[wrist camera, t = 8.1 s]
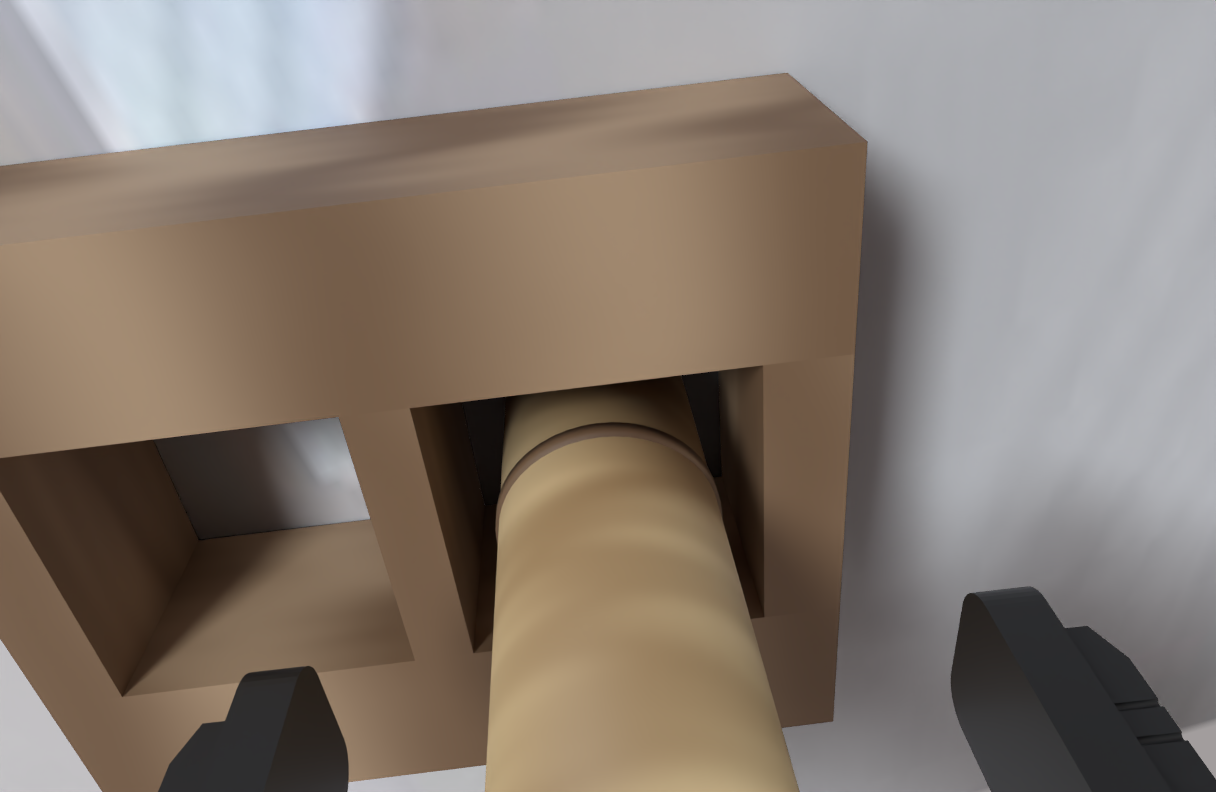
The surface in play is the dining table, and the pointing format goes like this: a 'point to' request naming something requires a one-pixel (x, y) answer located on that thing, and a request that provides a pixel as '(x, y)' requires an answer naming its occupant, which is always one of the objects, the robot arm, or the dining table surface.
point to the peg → (621, 607)
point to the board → (405, 392)
